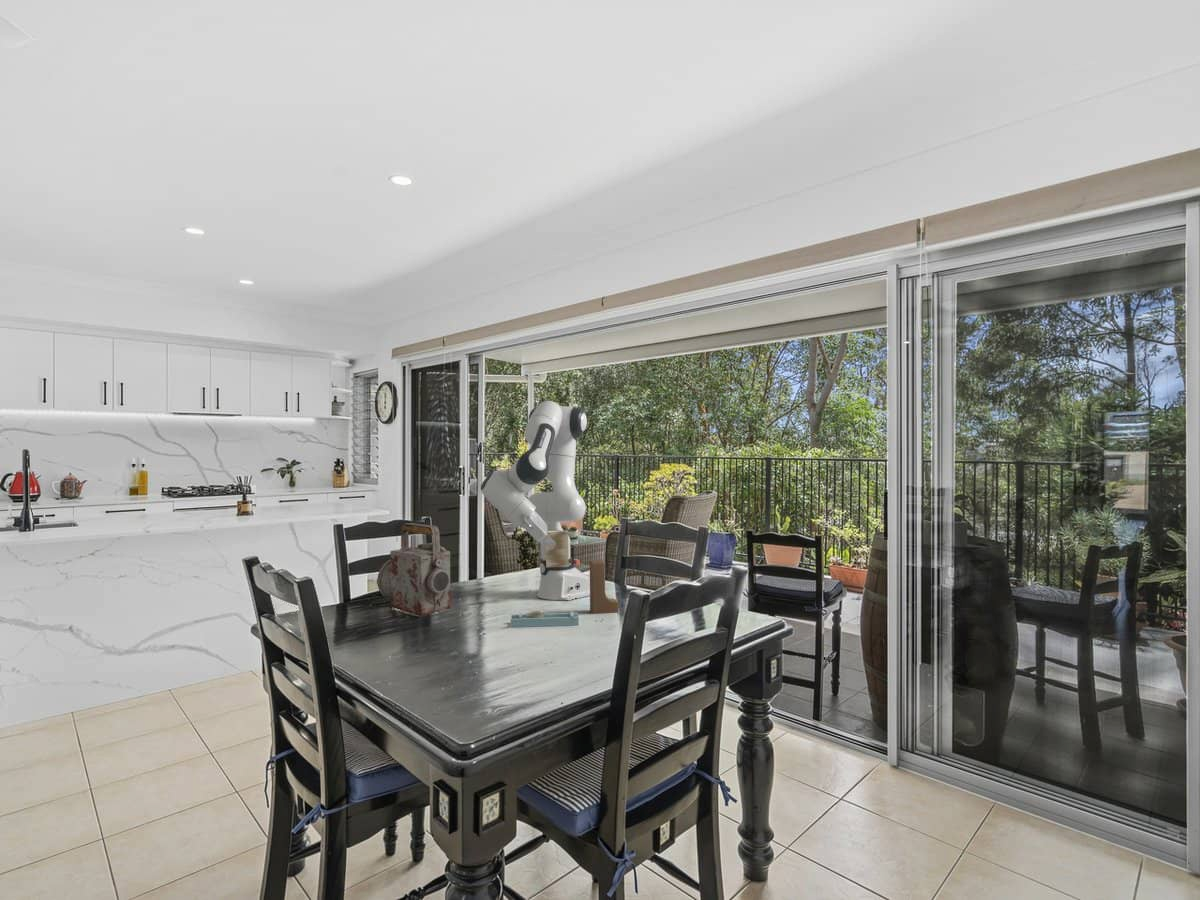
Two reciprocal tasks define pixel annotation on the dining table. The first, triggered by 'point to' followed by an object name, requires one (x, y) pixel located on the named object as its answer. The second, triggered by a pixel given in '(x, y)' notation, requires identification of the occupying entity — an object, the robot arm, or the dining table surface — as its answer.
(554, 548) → the beige rectangular slab
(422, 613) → the lantern
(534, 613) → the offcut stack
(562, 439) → the robot arm
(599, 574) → the wooden block
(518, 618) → the rack
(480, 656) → the dining table surface
